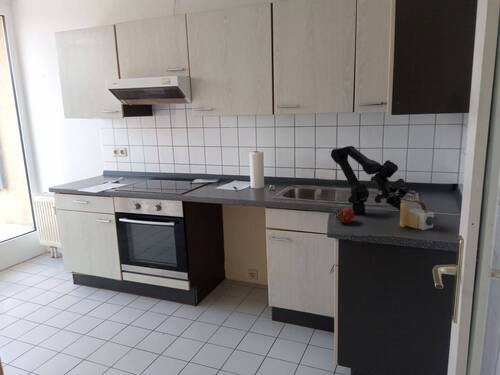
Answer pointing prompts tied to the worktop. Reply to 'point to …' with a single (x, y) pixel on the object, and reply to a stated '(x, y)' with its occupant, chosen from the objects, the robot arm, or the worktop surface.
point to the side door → (407, 217)
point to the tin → (414, 204)
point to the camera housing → (423, 218)
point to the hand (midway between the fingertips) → (401, 209)
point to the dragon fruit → (345, 215)
